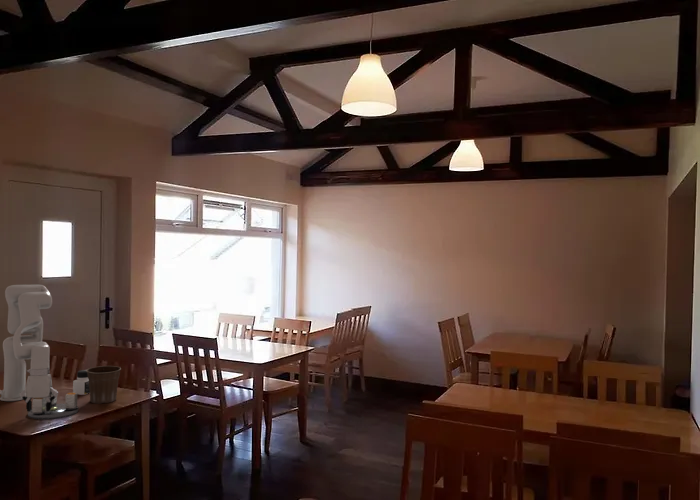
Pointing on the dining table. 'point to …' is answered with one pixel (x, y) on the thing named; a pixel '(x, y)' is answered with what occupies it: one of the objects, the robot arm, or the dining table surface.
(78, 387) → the medicine bottle
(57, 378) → the dining table surface
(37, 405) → the knob
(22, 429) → the dining table surface
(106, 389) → the plant pot
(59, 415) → the grey round tray
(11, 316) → the robot arm
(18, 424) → the dining table surface
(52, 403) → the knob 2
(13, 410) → the dining table surface
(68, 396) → the white short cylinder
